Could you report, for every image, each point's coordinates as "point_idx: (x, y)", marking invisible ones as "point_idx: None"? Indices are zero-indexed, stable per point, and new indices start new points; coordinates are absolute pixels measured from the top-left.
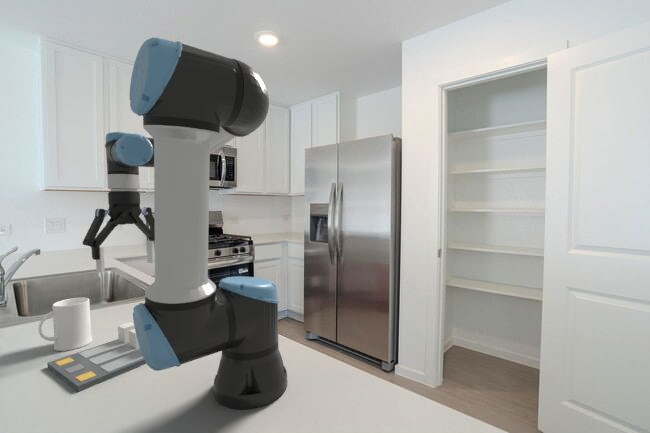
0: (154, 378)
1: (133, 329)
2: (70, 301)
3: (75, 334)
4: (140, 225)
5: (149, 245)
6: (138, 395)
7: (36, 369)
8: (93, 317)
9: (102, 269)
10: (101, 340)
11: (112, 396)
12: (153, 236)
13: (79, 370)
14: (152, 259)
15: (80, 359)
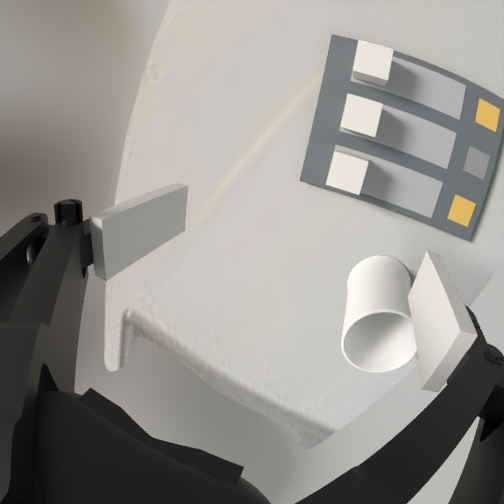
0: (427, 7)
1: (365, 130)
2: (358, 361)
3: (398, 274)
4: (49, 324)
5: (125, 237)
6: (468, 3)
7: (472, 251)
8: (261, 356)
9: (438, 259)
10: (350, 246)
11: (488, 39)
12: (65, 232)
13: (478, 147)
14: (176, 189)
15: (449, 188)
